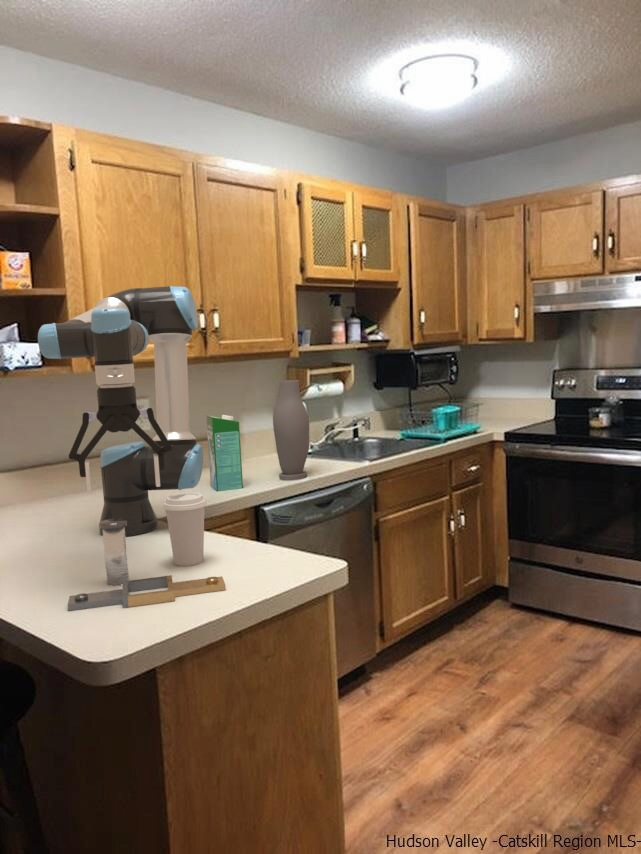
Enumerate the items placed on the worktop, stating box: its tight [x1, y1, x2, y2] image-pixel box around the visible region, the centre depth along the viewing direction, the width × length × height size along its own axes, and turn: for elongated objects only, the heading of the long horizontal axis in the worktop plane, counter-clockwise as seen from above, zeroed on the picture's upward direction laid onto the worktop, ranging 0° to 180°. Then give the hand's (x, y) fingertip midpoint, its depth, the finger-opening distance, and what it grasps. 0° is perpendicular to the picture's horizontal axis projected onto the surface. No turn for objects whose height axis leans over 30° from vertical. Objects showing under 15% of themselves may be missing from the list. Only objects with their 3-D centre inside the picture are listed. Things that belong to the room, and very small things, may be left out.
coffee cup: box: [162, 492, 207, 567], centre depth 157 cm, size 10×10×15 cm
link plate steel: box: [67, 575, 168, 612], centre depth 136 cm, size 10×19×2 cm, turn 105°
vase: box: [272, 379, 310, 481], centre depth 250 cm, size 13×13×35 cm
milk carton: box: [206, 414, 244, 492], centre depth 238 cm, size 9×9×25 cm
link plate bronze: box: [128, 574, 226, 608], centre depth 139 cm, size 10×19×2 cm, turn 105°
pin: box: [99, 518, 130, 587], centre depth 146 cm, size 5×5×13 cm
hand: (124, 489), depth 144 cm, fingers open, 13 cm apart
